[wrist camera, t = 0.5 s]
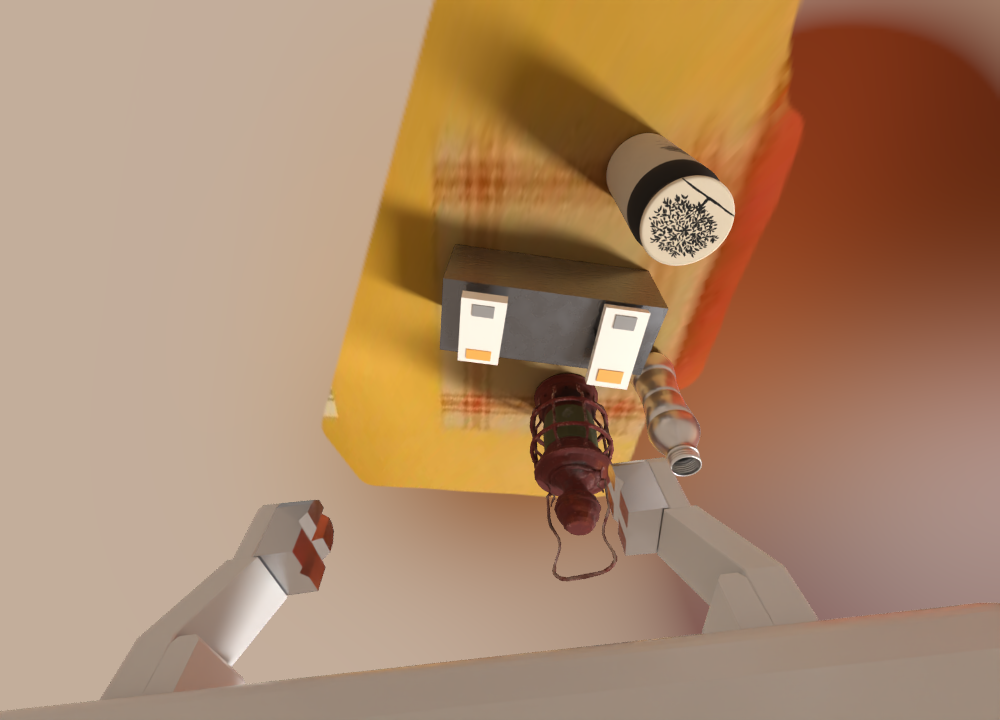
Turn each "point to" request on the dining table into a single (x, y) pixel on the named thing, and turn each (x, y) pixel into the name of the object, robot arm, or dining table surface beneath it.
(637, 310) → the block
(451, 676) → the robot arm
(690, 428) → the silver tall rounded piece
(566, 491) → the lantern
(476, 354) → the rocker on
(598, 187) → the dining table surface
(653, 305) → the switch box
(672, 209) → the travel mug
